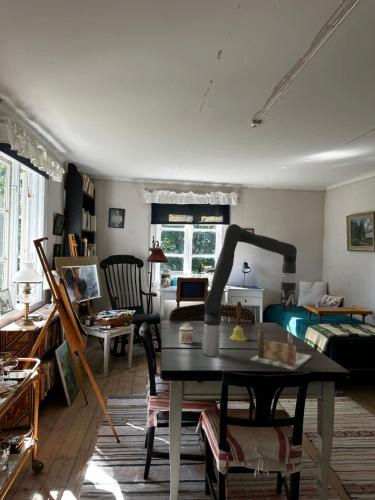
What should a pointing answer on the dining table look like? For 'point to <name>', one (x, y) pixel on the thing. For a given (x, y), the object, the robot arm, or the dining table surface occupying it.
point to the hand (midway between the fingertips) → (287, 311)
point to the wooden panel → (279, 349)
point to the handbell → (238, 326)
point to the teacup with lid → (186, 334)
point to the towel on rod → (289, 364)
